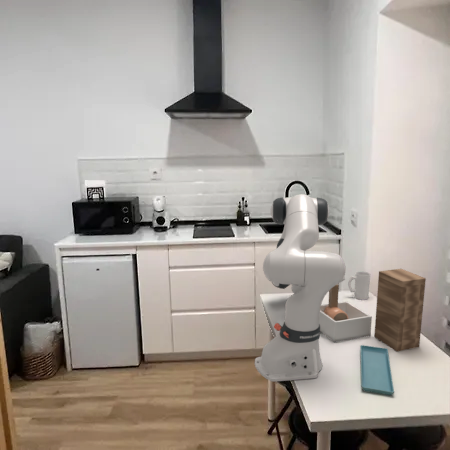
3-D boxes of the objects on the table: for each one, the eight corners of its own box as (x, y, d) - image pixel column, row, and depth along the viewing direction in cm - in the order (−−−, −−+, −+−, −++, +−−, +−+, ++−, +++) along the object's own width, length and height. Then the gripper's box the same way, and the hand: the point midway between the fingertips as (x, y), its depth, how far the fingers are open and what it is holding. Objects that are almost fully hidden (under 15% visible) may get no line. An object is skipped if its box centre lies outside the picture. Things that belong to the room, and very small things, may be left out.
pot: (338, 320, 169) (347, 327, 162) (323, 322, 167) (331, 329, 160) (340, 283, 165) (350, 288, 159) (324, 284, 164) (333, 290, 157)
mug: (365, 294, 199) (367, 271, 197) (371, 300, 193) (372, 275, 190) (345, 295, 199) (346, 271, 197) (349, 300, 192) (351, 276, 190)
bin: (334, 342, 152) (335, 322, 151) (311, 324, 167) (312, 306, 165) (370, 336, 157) (371, 316, 156) (345, 319, 172) (346, 301, 170)
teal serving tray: (394, 398, 120) (394, 391, 119) (360, 393, 122) (361, 385, 122) (387, 354, 144) (387, 348, 144) (359, 351, 147) (360, 344, 146)
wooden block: (396, 351, 145) (402, 281, 140) (374, 336, 157) (379, 271, 151) (419, 347, 149) (425, 278, 143) (395, 332, 160) (401, 268, 155)
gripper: (291, 277, 176) (305, 270, 164) (332, 272, 183) (349, 265, 170) (294, 292, 175) (309, 285, 162) (335, 286, 181) (353, 280, 169)
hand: (330, 275), depth 166 cm, fingers open, 5 cm apart
